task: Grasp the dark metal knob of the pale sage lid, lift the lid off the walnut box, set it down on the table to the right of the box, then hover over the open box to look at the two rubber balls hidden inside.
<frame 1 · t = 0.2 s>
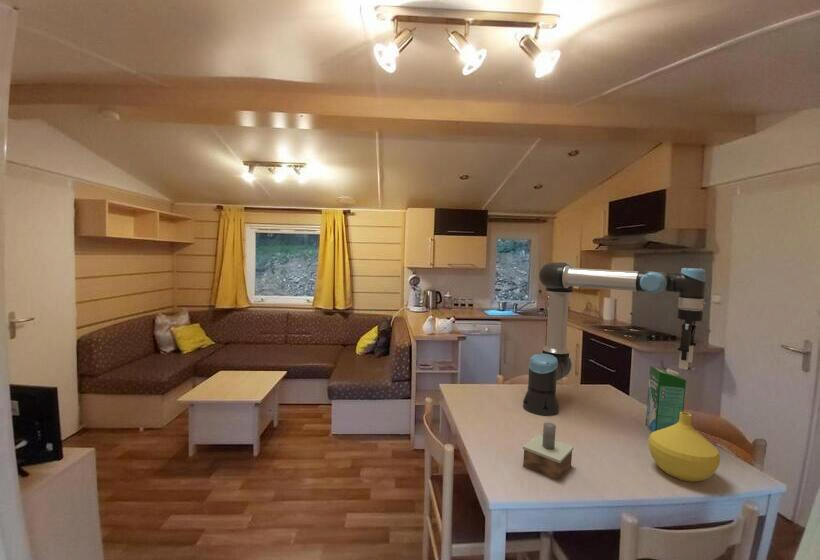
hand: (685, 365, 143), 28 cm above the table, fingers open, 13 cm apart
walnut box: (547, 467, 120), on the table
lid: (548, 449, 120), point 6 cm above the table, touching walnut box
mustard ball: (555, 465, 120), point 1 cm above the table, touching walnut box
vase: (680, 473, 120), on the table
terracotta ball: (538, 465, 120), point 1 cm above the table, touching walnut box
milk carton: (662, 432, 149), on the table
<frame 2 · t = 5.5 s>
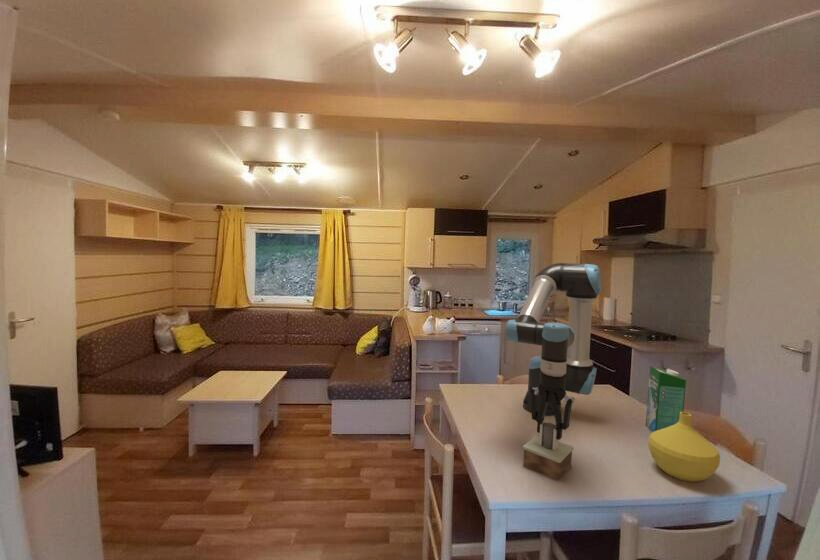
hand: (548, 445, 120), 7 cm above the table, fingers closed on lid, 4 cm apart
lid: (548, 449, 120), point 6 cm above the table, touching gripper, walnut box
everything else where it was.
when the fingers open (4 cm above the table, at t = 11.4 s): lid drops 2 cm, point 1 cm above the table.
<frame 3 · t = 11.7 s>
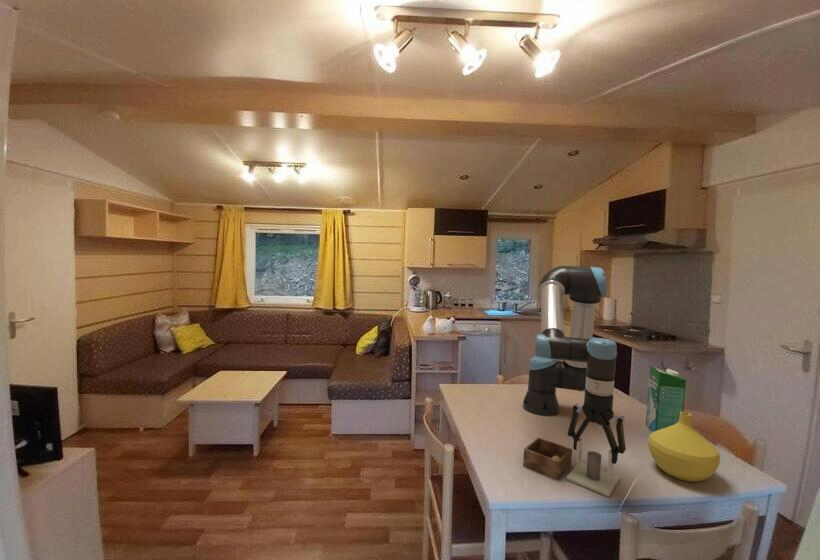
hand: (593, 466, 113), 5 cm above the table, fingers open, 8 cm apart
lid: (592, 479, 113), point 1 cm above the table
everything else where it was.
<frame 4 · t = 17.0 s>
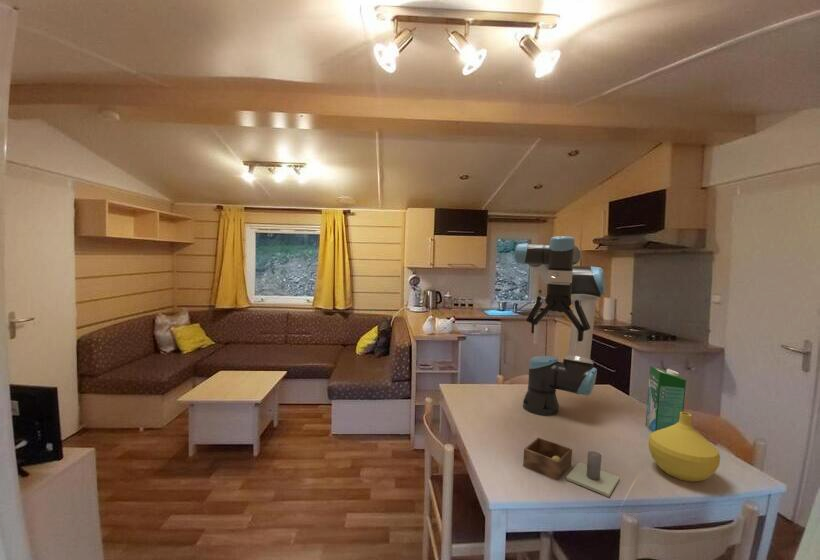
hand: (555, 347, 127), 37 cm above the table, fingers open, 13 cm apart
nothing on the table moved.
at the end: lid inside the target area (0.0 cm from its centre), point 0.8 cm above the table; lid tilted 0°; lid touching table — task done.
